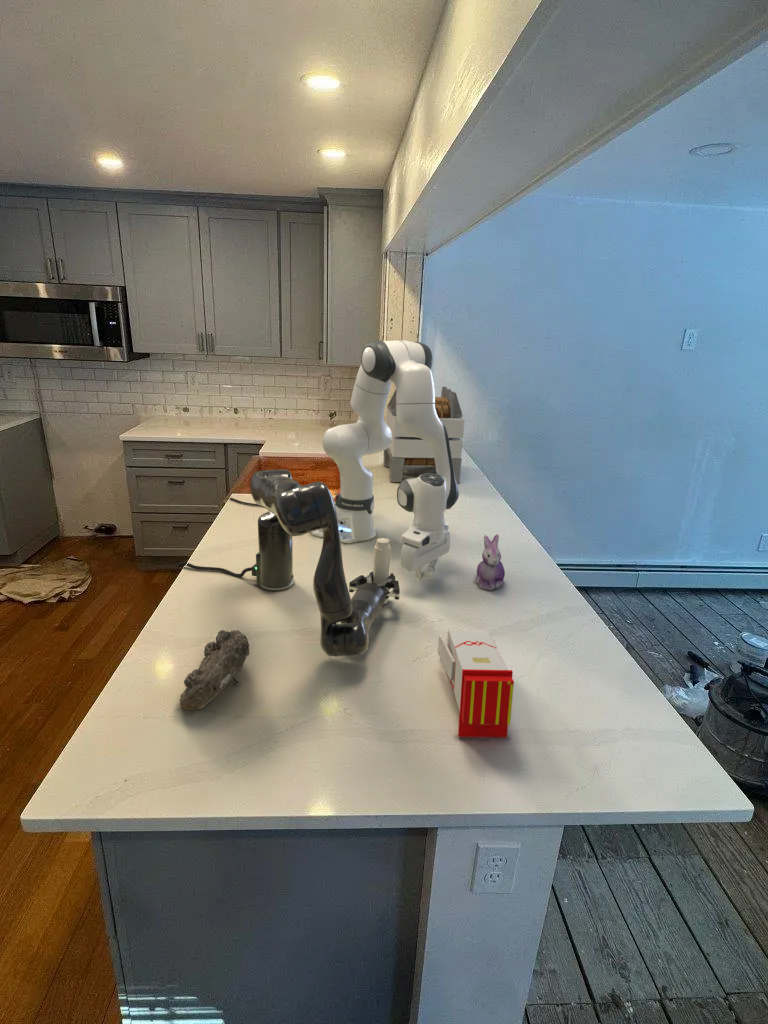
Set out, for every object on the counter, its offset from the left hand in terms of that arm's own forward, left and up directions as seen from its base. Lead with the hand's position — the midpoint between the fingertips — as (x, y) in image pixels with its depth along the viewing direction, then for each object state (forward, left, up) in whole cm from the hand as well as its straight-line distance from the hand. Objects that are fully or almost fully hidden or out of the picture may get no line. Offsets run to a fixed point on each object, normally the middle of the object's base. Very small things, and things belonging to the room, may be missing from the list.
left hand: (383, 575), depth 154 cm
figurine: (+28, +18, -6) cm, 34 cm away
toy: (+28, -34, -6) cm, 45 cm away
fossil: (-23, -47, -6) cm, 53 cm away
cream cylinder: (0, -3, -6) cm, 7 cm away
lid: (+10, +13, -3) cm, 16 cm away
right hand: (+9, +13, -4) cm, 16 cm away
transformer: (-15, +126, -6) cm, 127 cm away
